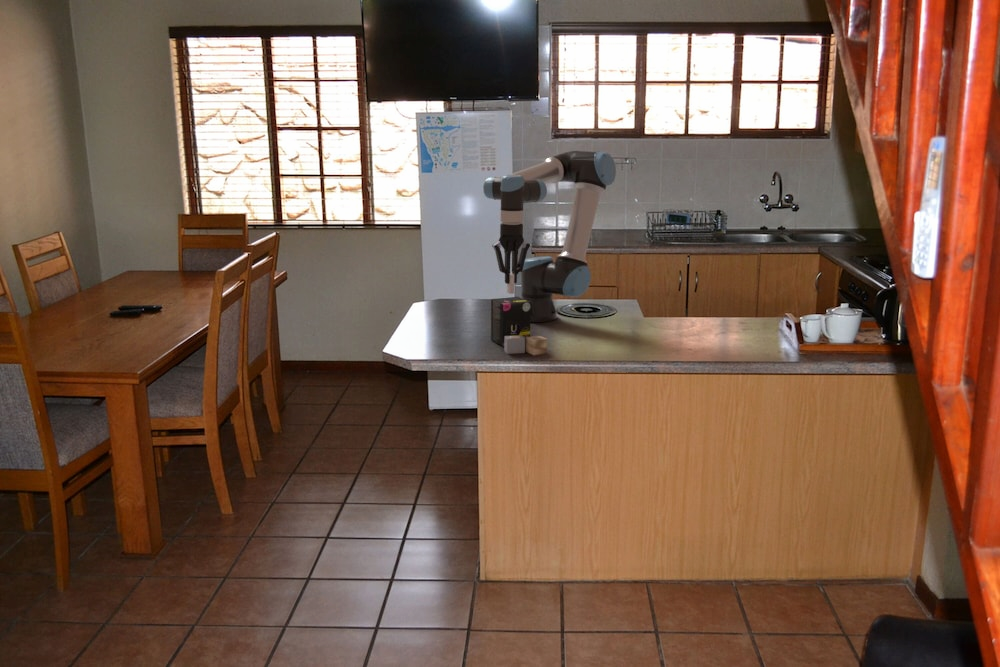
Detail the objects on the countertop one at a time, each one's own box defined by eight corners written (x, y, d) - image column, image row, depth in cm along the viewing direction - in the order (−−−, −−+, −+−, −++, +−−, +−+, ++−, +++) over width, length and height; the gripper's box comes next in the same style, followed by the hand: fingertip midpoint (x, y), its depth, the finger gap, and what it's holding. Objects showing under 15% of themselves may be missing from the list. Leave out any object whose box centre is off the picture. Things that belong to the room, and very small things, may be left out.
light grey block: (522, 349, 296) (522, 334, 295) (524, 353, 292) (524, 337, 291) (504, 350, 295) (504, 335, 294) (506, 353, 291) (506, 338, 290)
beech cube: (538, 349, 296) (538, 334, 295) (546, 353, 292) (547, 338, 291) (525, 351, 294) (525, 336, 293) (533, 355, 290) (533, 340, 288)
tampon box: (502, 346, 299) (502, 304, 295) (490, 340, 307) (490, 298, 303) (531, 343, 304) (531, 301, 300) (518, 336, 312) (518, 295, 308)
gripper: (526, 220, 301) (524, 289, 306) (489, 222, 296) (488, 291, 302) (534, 223, 294) (532, 293, 300) (496, 225, 290) (495, 296, 295)
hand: (510, 292), depth 301 cm, fingers closed
